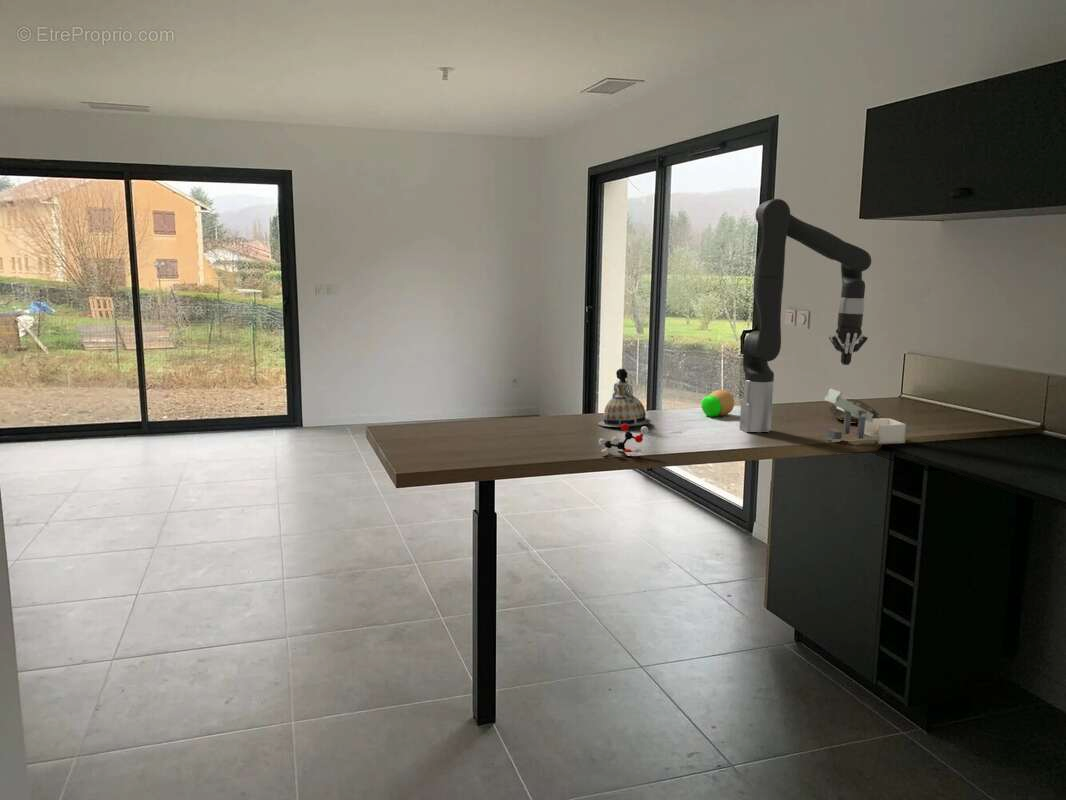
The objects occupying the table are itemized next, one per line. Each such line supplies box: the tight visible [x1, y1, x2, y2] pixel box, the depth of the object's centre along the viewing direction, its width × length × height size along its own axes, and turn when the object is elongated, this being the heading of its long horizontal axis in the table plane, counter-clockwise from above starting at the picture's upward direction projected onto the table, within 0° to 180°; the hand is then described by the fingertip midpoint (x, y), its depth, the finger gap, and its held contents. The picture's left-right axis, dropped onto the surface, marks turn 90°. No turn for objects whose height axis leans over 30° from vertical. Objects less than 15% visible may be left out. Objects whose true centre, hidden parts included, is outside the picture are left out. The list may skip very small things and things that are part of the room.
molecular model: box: [598, 423, 649, 453], centre depth 233 cm, size 16×8×10 cm, turn 85°
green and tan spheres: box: [701, 389, 735, 418], centre depth 288 cm, size 11×10×12 cm
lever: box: [824, 388, 874, 422], centre depth 255 cm, size 17×17×4 cm
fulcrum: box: [825, 410, 876, 447], centre depth 251 cm, size 11×13×10 cm
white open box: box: [864, 417, 908, 445], centre depth 252 cm, size 9×9×6 cm
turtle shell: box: [827, 398, 884, 423], centre depth 280 cm, size 16×9×20 cm
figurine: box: [597, 368, 652, 428], centre depth 271 cm, size 18×18×20 cm
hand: (845, 364), depth 260 cm, fingers closed
